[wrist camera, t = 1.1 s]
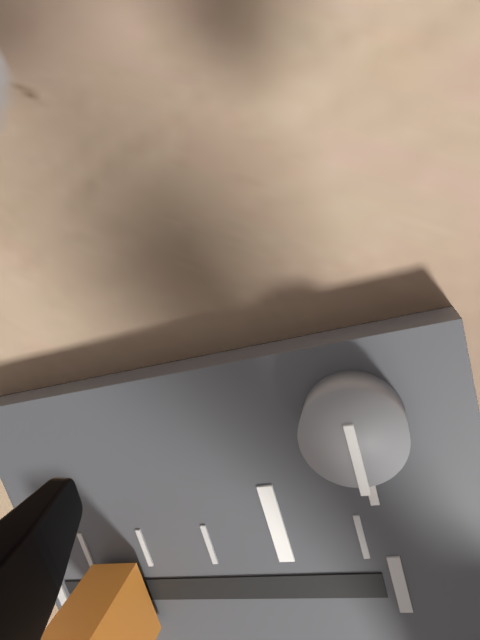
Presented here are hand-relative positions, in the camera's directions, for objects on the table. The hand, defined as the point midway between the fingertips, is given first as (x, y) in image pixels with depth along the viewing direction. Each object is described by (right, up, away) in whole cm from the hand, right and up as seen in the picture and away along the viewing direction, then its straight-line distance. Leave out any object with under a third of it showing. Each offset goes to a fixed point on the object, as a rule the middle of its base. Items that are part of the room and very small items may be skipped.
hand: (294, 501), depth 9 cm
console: (-1, -7, +17) cm, 18 cm away
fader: (-8, -12, +17) cm, 23 cm away
